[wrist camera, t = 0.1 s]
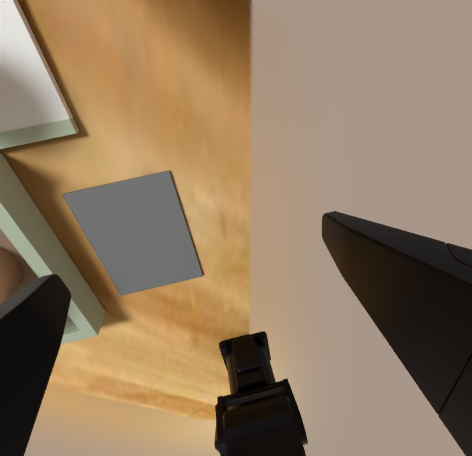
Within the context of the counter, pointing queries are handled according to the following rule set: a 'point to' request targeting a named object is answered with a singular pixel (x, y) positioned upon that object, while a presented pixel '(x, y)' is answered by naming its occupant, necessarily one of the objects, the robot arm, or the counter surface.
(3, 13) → the white square board
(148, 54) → the counter surface
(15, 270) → the pot
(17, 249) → the green shallow rectangular frame
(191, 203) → the counter surface
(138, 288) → the mat
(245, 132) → the counter surface
